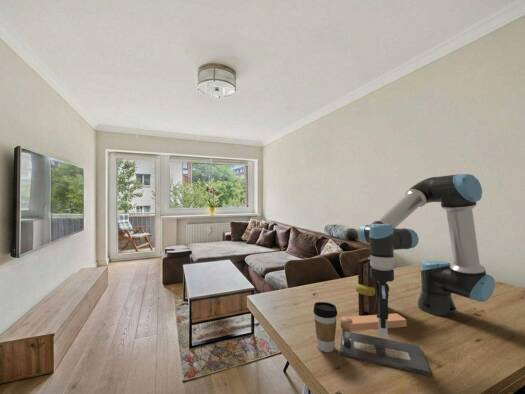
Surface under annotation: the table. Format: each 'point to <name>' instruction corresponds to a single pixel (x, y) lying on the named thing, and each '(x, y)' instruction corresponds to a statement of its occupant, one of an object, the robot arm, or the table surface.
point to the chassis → (383, 352)
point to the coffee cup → (325, 325)
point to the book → (366, 289)
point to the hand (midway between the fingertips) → (383, 335)
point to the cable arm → (371, 322)
